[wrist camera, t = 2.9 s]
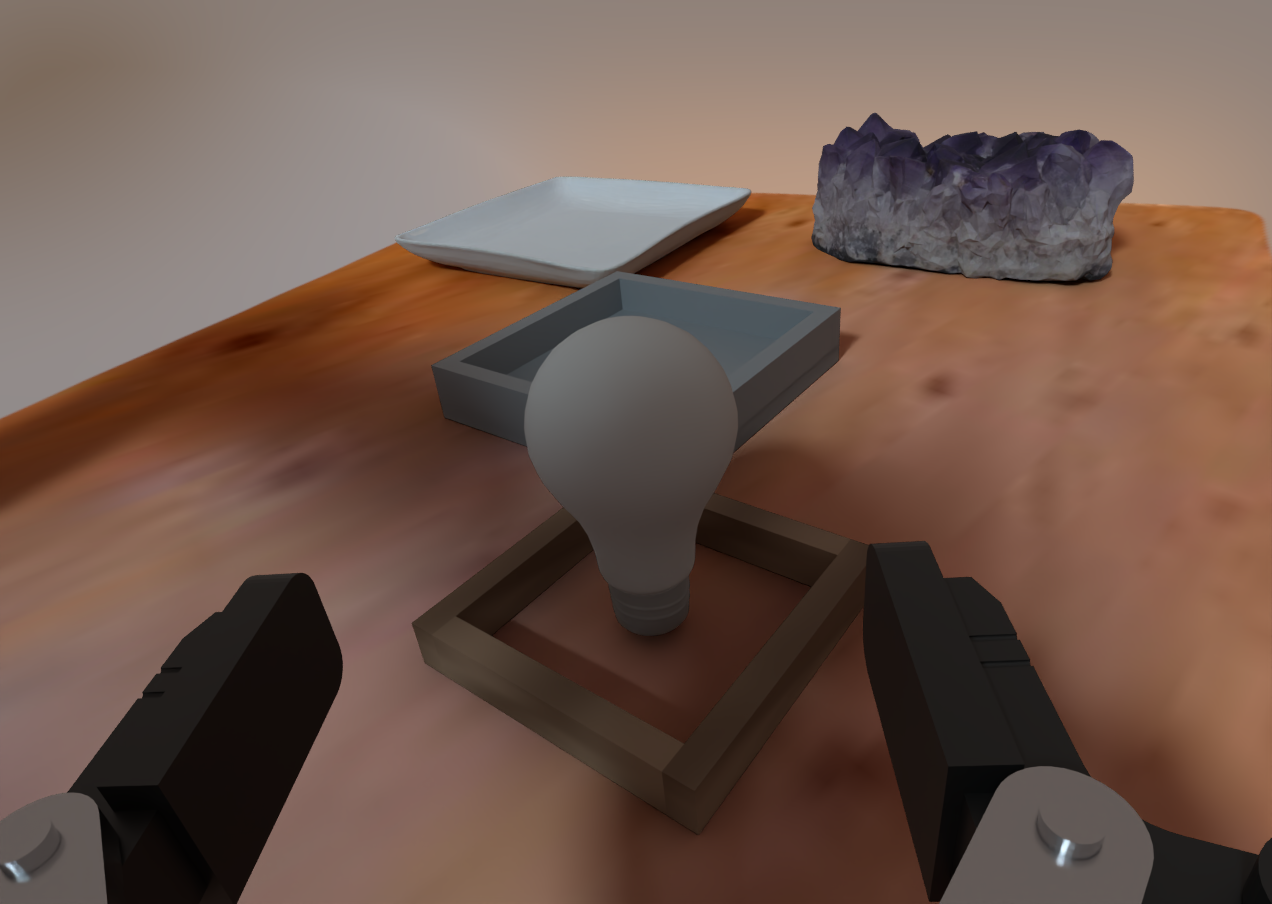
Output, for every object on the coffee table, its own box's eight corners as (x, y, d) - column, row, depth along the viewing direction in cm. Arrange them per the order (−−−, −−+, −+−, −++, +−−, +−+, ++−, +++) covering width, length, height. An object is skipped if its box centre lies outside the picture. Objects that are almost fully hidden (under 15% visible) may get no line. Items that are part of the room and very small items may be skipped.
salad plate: (758, 224, 67) (757, 182, 65) (613, 315, 53) (607, 265, 51) (562, 208, 78) (557, 172, 76) (397, 279, 64) (386, 237, 62)
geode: (778, 275, 56) (780, 120, 52) (833, 247, 65) (838, 113, 61) (1111, 294, 46) (1146, 103, 42) (1122, 257, 55) (1152, 97, 50)
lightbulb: (662, 545, 31) (635, 270, 25) (783, 625, 27) (783, 315, 21) (530, 625, 28) (465, 332, 22) (642, 730, 23) (597, 400, 18)
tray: (444, 417, 42) (431, 365, 40) (621, 316, 51) (616, 271, 50) (679, 499, 33) (674, 438, 32) (838, 360, 43) (840, 307, 41)
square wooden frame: (424, 662, 27) (411, 623, 26) (627, 498, 34) (622, 462, 33) (698, 835, 20) (694, 791, 20) (875, 589, 28) (878, 548, 27)
